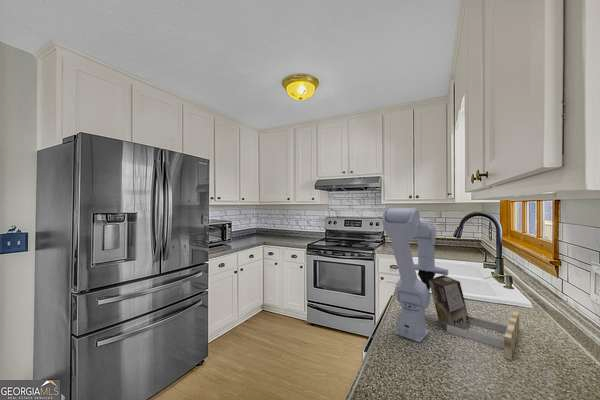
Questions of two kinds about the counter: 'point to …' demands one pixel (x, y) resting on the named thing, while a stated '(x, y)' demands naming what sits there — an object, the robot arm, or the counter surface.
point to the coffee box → (449, 301)
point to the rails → (477, 335)
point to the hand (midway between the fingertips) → (427, 290)
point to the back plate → (511, 335)
